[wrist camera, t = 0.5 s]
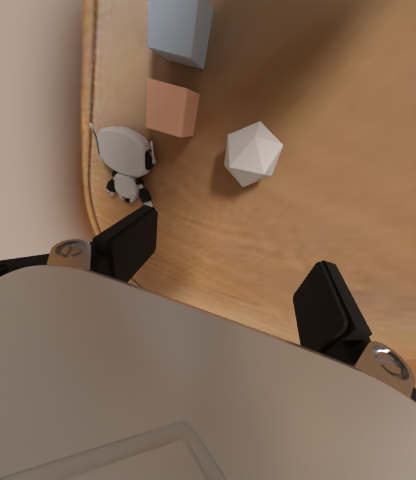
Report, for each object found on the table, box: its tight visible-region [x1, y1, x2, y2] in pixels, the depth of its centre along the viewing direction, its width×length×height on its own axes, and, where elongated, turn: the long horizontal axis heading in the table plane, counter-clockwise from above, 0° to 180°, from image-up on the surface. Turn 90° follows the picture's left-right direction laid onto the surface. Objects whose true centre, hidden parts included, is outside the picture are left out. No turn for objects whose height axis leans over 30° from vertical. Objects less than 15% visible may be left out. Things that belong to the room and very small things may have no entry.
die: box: [224, 121, 283, 187], centre depth 29 cm, size 8×9×10 cm
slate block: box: [148, 0, 213, 70], centre depth 24 cm, size 6×6×6 cm
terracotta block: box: [146, 78, 200, 138], centre depth 29 cm, size 6×6×6 cm
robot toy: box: [89, 123, 156, 207], centre depth 38 cm, size 12×4×15 cm
